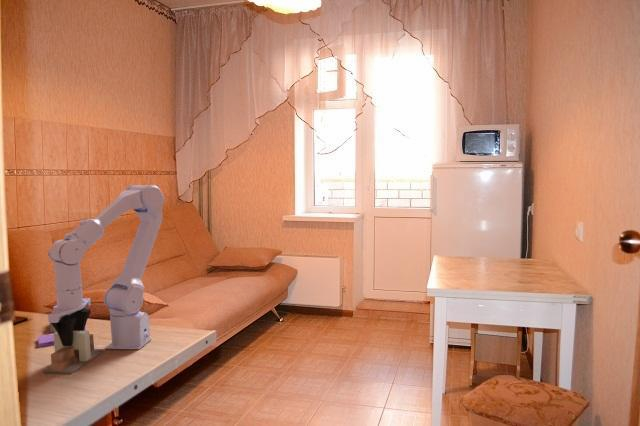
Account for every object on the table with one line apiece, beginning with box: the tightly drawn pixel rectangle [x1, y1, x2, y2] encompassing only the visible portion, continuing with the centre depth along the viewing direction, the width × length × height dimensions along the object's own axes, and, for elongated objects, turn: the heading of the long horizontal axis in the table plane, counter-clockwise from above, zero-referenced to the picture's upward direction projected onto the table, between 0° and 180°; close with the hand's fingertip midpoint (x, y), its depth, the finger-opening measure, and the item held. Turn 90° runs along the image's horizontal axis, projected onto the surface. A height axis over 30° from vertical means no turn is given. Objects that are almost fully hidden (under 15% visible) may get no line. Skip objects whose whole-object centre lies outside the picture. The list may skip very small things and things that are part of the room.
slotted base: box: [42, 333, 104, 375], centre depth 121 cm, size 14×7×5 cm, turn 175°
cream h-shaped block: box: [52, 330, 91, 361], centre depth 121 cm, size 8×2×7 cm, turn 85°
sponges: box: [37, 327, 88, 348], centre depth 138 cm, size 7×13×2 cm, turn 119°
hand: (73, 342), depth 121 cm, fingers open, 4 cm apart
